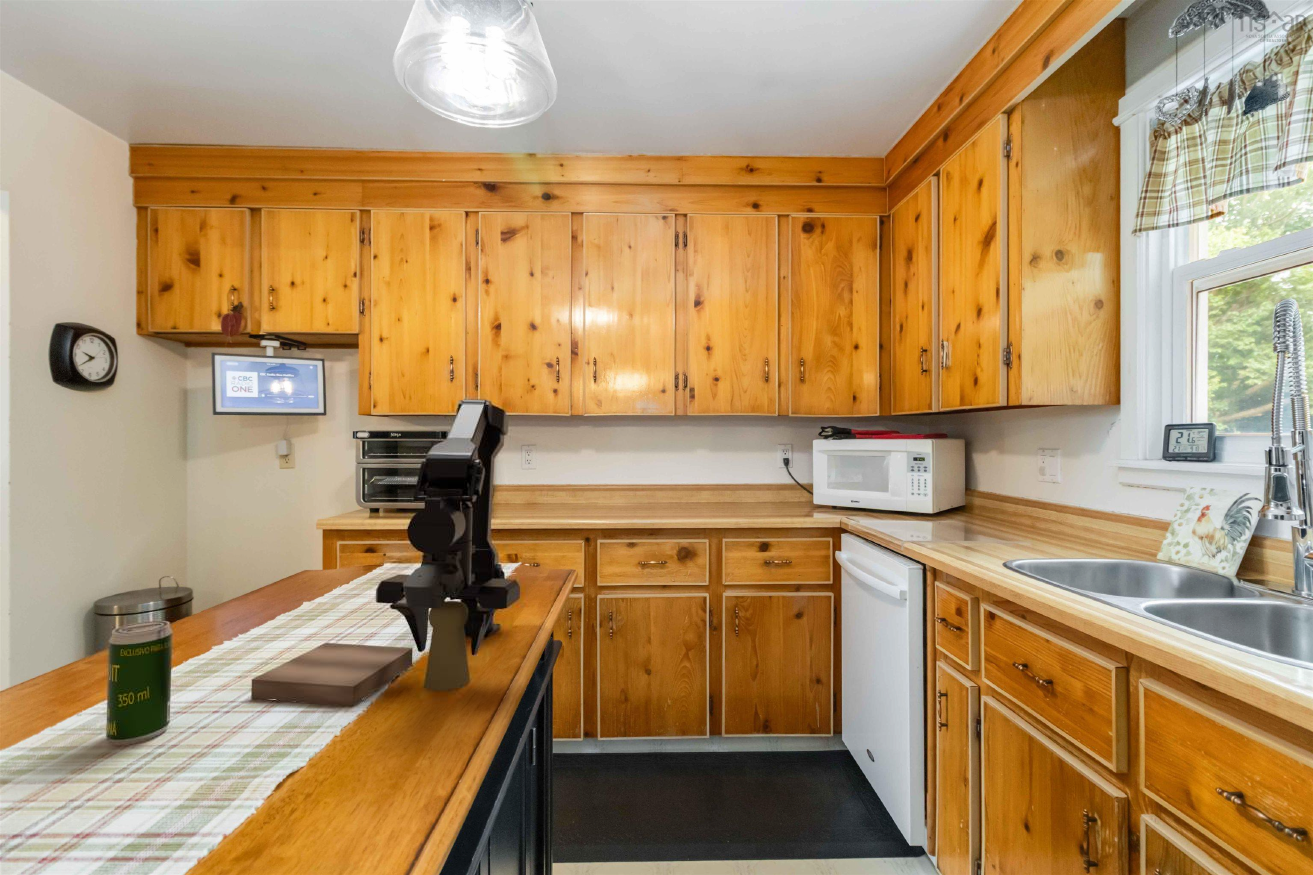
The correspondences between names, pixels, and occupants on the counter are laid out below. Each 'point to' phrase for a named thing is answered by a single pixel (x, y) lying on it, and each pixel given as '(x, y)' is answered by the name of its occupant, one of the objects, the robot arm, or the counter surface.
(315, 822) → the counter surface
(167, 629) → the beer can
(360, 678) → the walnut base
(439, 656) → the olive brown game pawn
